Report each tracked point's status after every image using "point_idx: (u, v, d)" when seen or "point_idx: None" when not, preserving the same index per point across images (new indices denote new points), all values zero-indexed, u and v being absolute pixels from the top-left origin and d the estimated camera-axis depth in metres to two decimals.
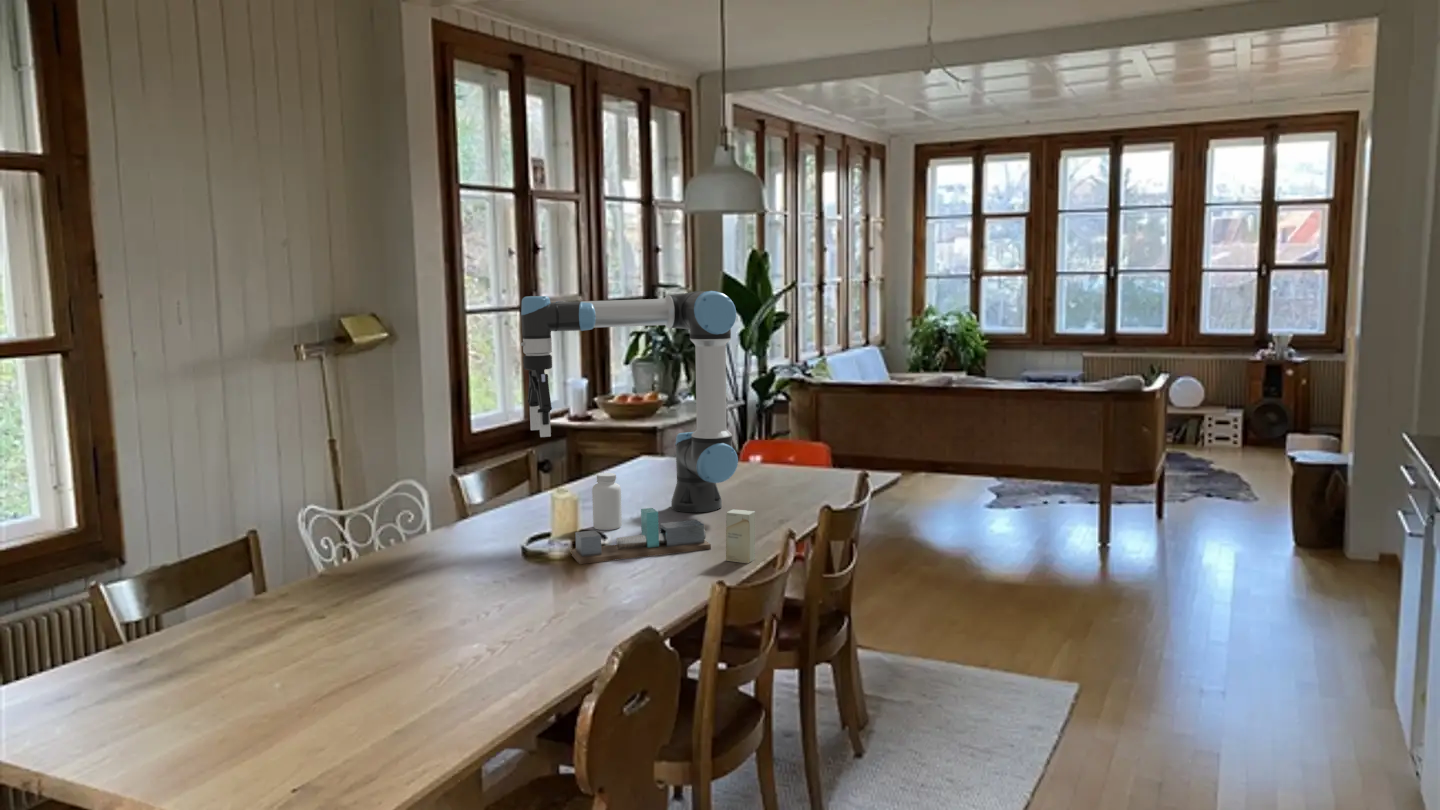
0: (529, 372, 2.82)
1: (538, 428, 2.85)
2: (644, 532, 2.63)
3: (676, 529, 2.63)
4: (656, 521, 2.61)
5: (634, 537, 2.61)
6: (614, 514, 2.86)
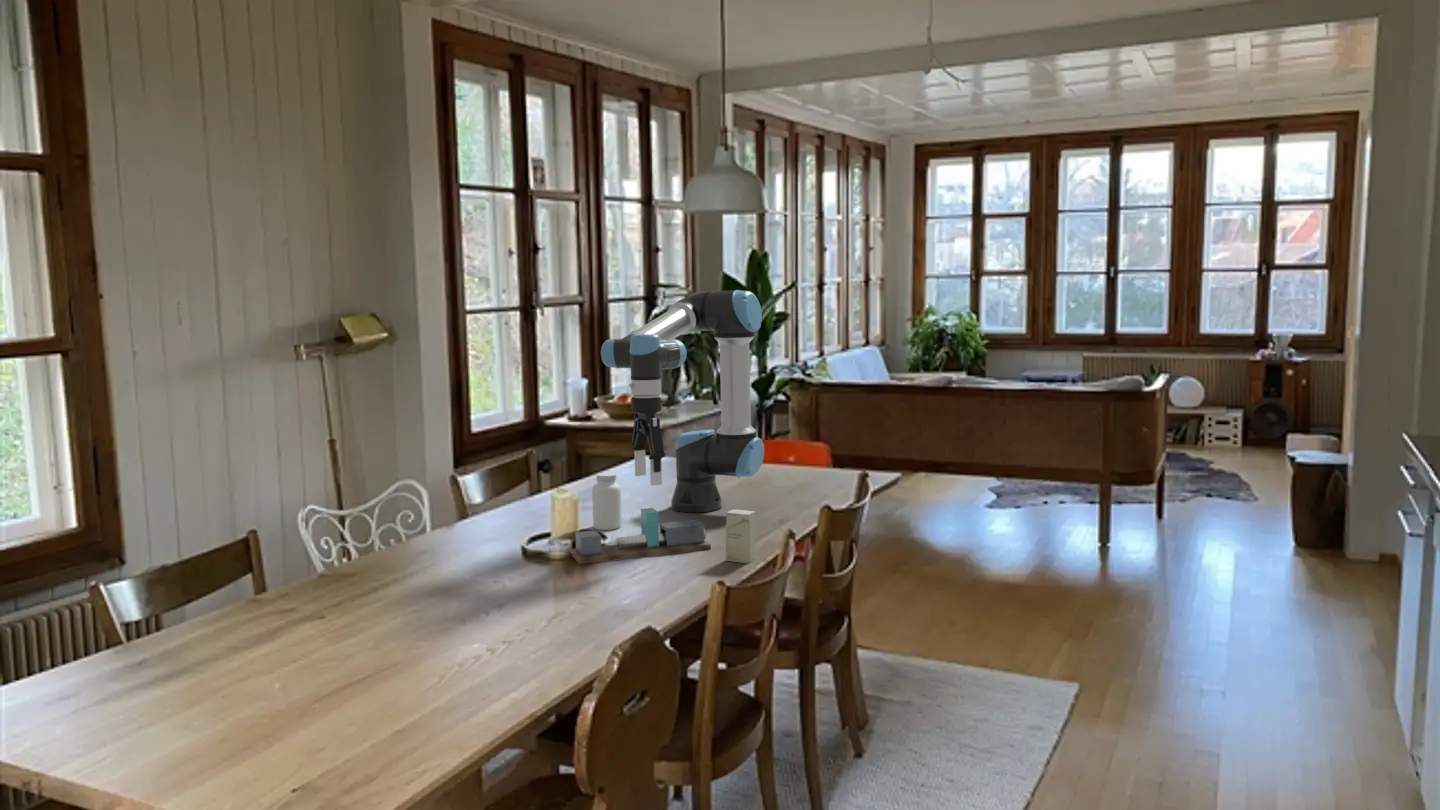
0: (635, 414, 2.65)
1: (643, 473, 2.68)
2: (644, 532, 2.63)
3: (676, 529, 2.63)
4: (656, 521, 2.61)
5: (634, 537, 2.61)
6: (614, 514, 2.86)
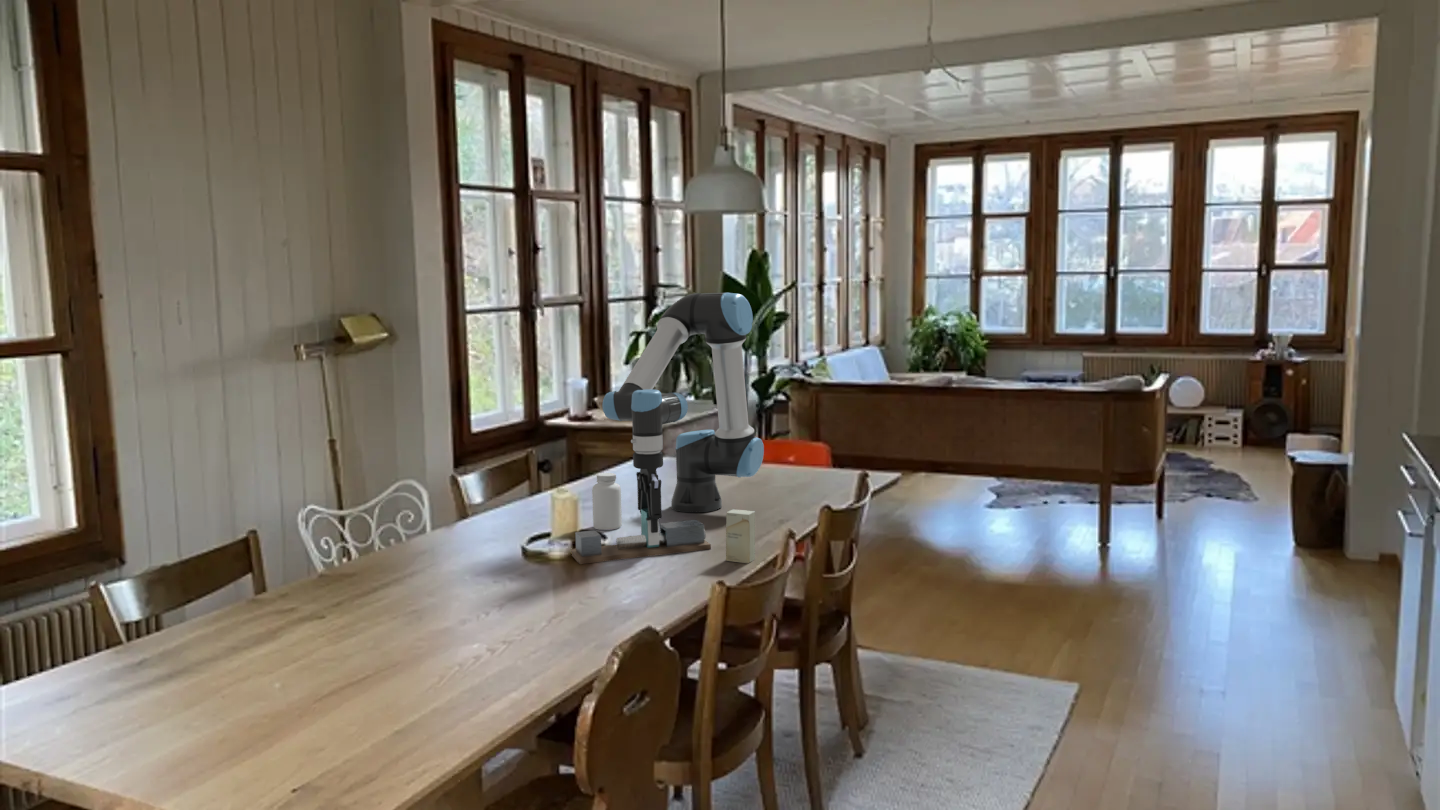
0: (637, 473, 2.67)
1: None
2: (644, 532, 2.63)
3: (676, 529, 2.63)
4: None
5: (634, 537, 2.61)
6: (614, 514, 2.86)
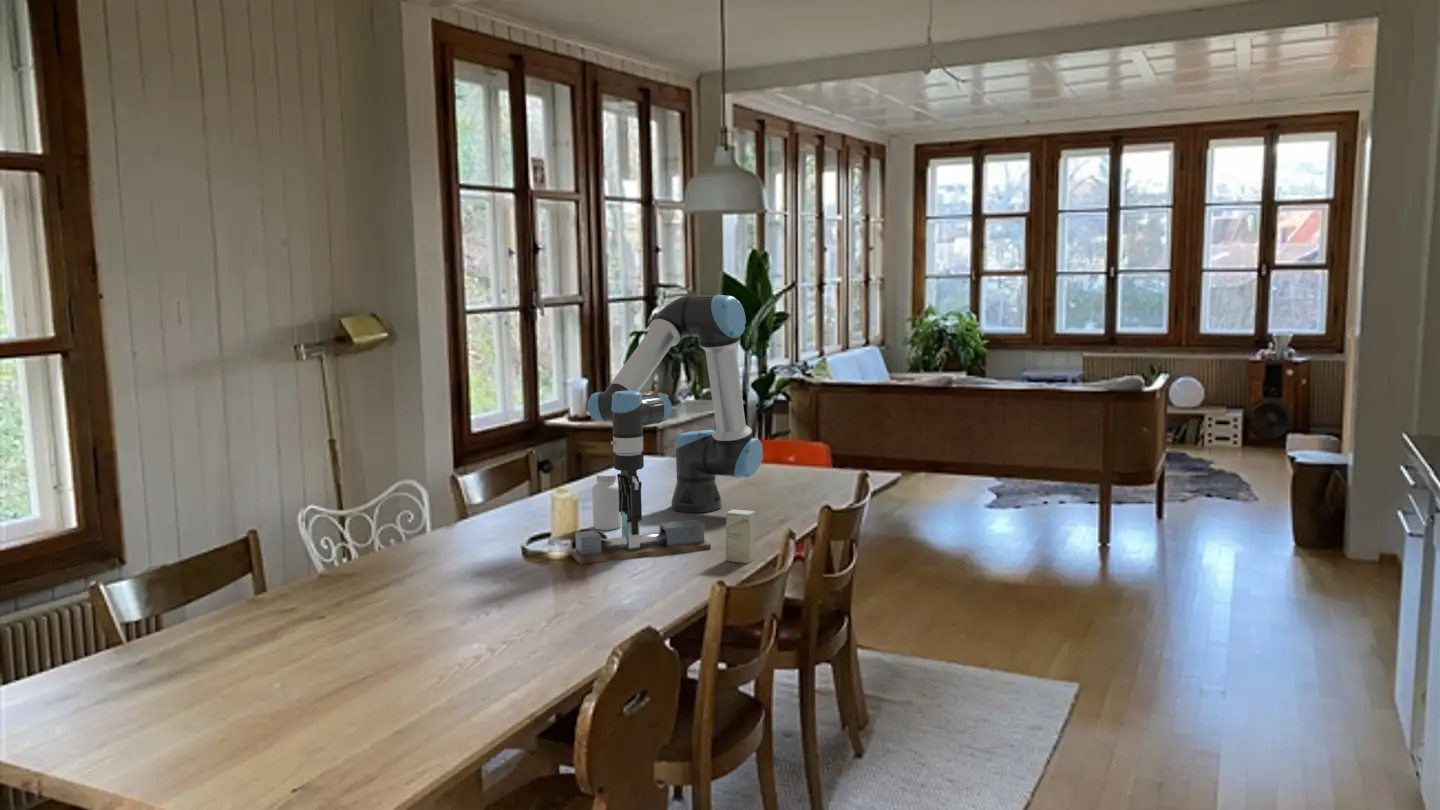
0: (618, 475, 2.65)
1: None
2: (624, 534, 2.61)
3: (676, 529, 2.63)
4: None
5: (614, 539, 2.60)
6: (614, 514, 2.86)
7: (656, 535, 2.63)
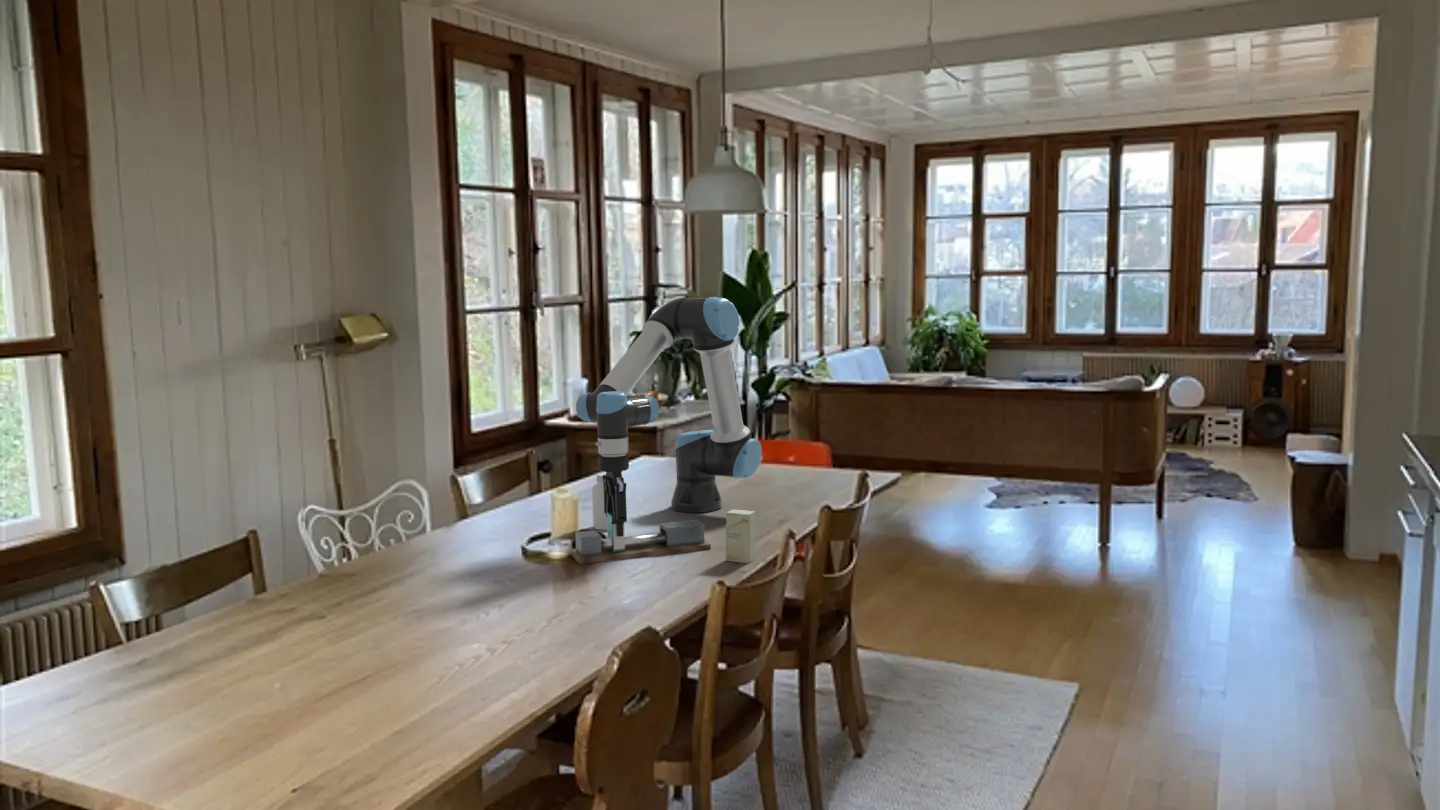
0: (603, 476, 2.64)
1: None
2: (609, 535, 2.60)
3: (676, 529, 2.63)
4: None
5: None
6: None
7: (641, 537, 2.62)
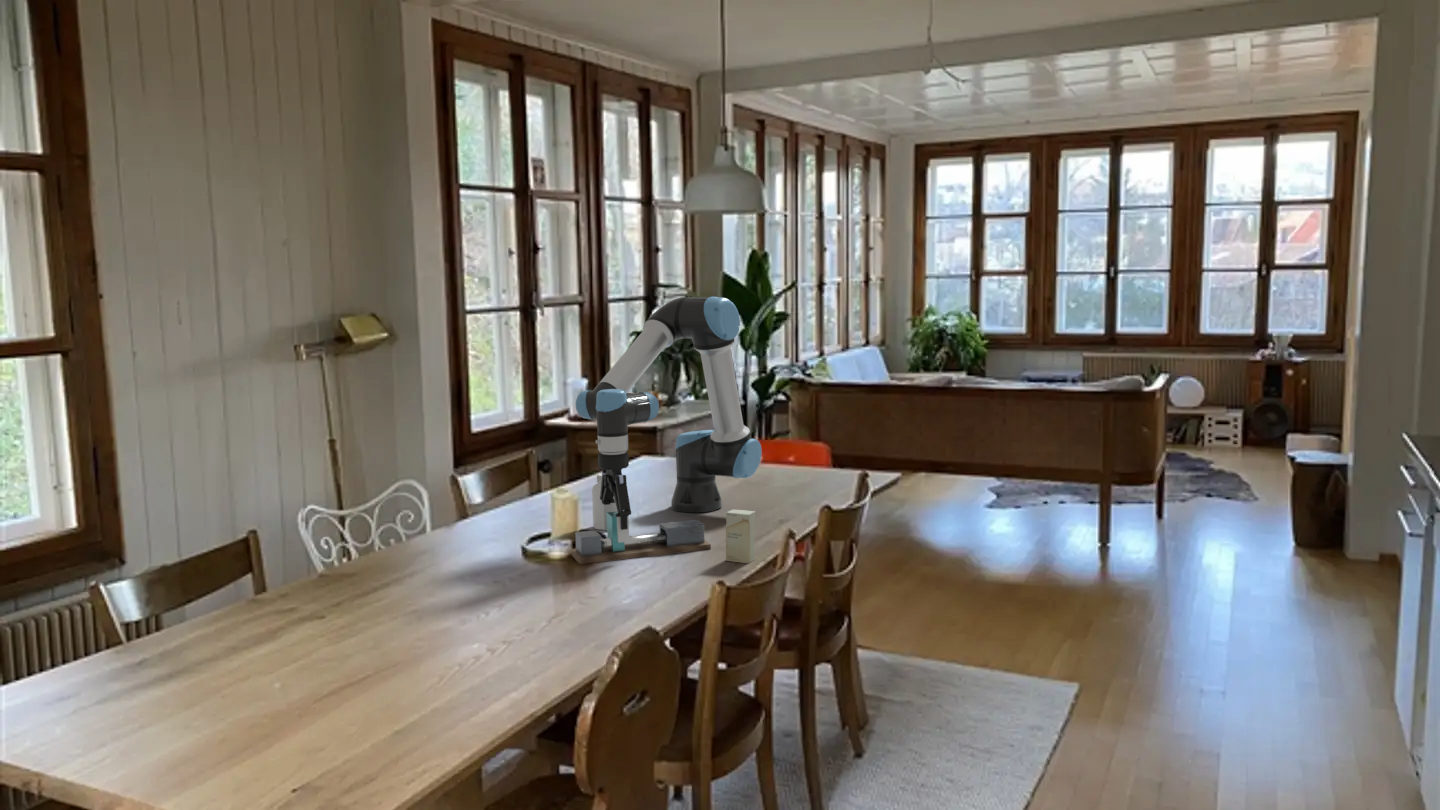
0: (602, 469, 2.63)
1: None
2: (609, 535, 2.60)
3: (676, 529, 2.63)
4: None
5: None
6: None
7: (641, 537, 2.62)
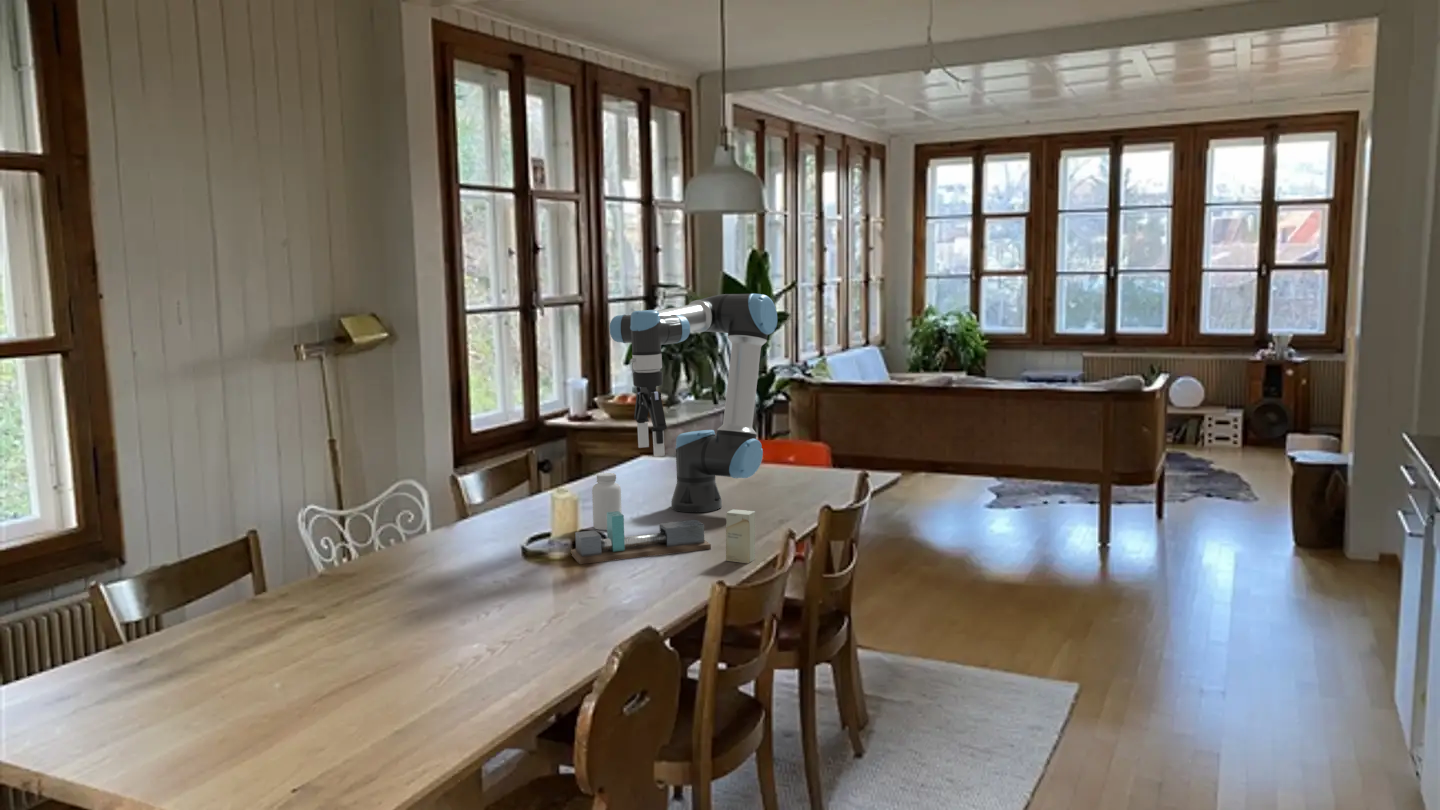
0: (637, 388, 2.74)
1: (646, 445, 2.77)
2: (609, 535, 2.60)
3: (676, 529, 2.63)
4: (621, 524, 2.58)
5: None
6: None
7: (641, 537, 2.62)
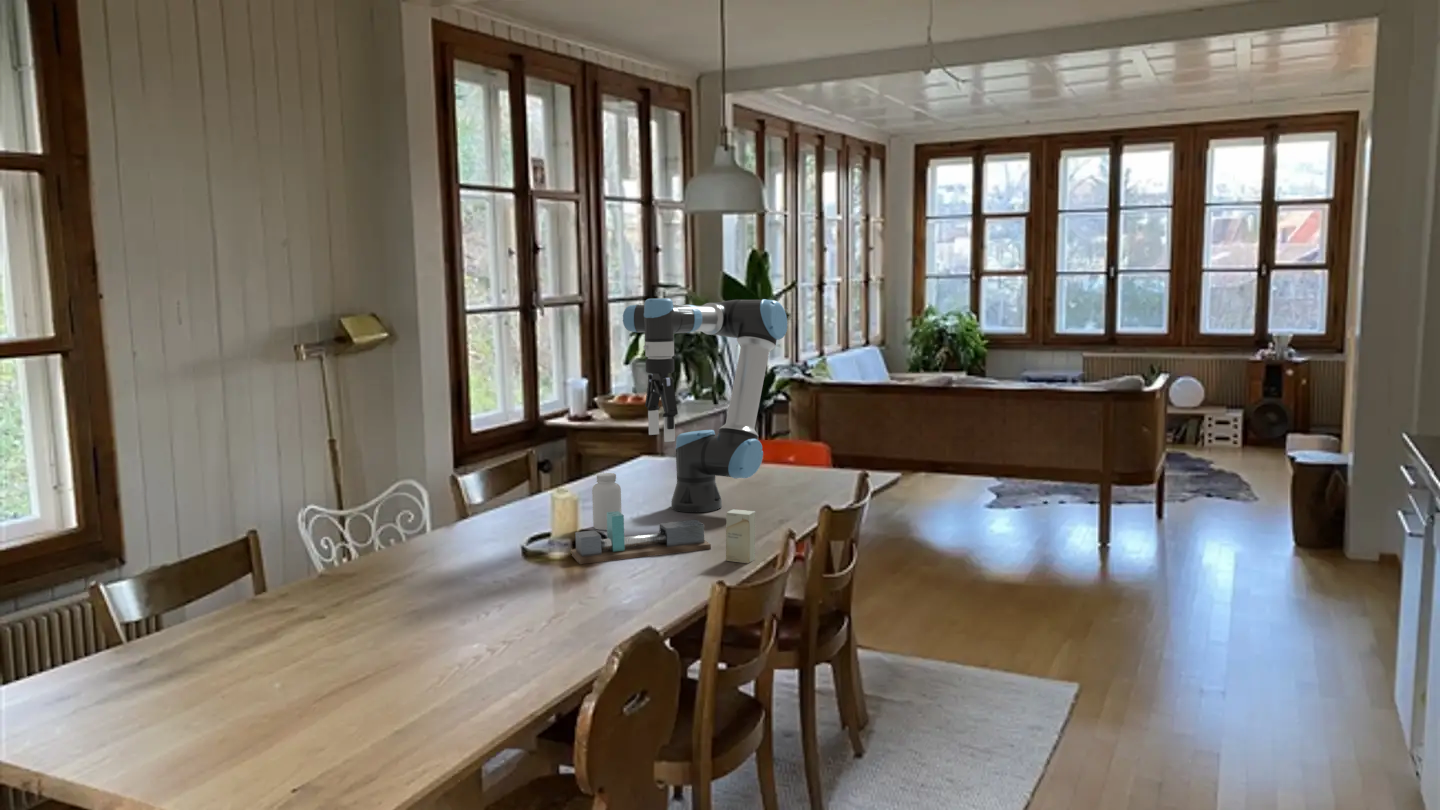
0: (649, 376, 2.78)
1: (656, 432, 2.81)
2: (609, 535, 2.60)
3: (676, 529, 2.63)
4: (621, 524, 2.58)
5: None
6: None
7: (641, 537, 2.62)
